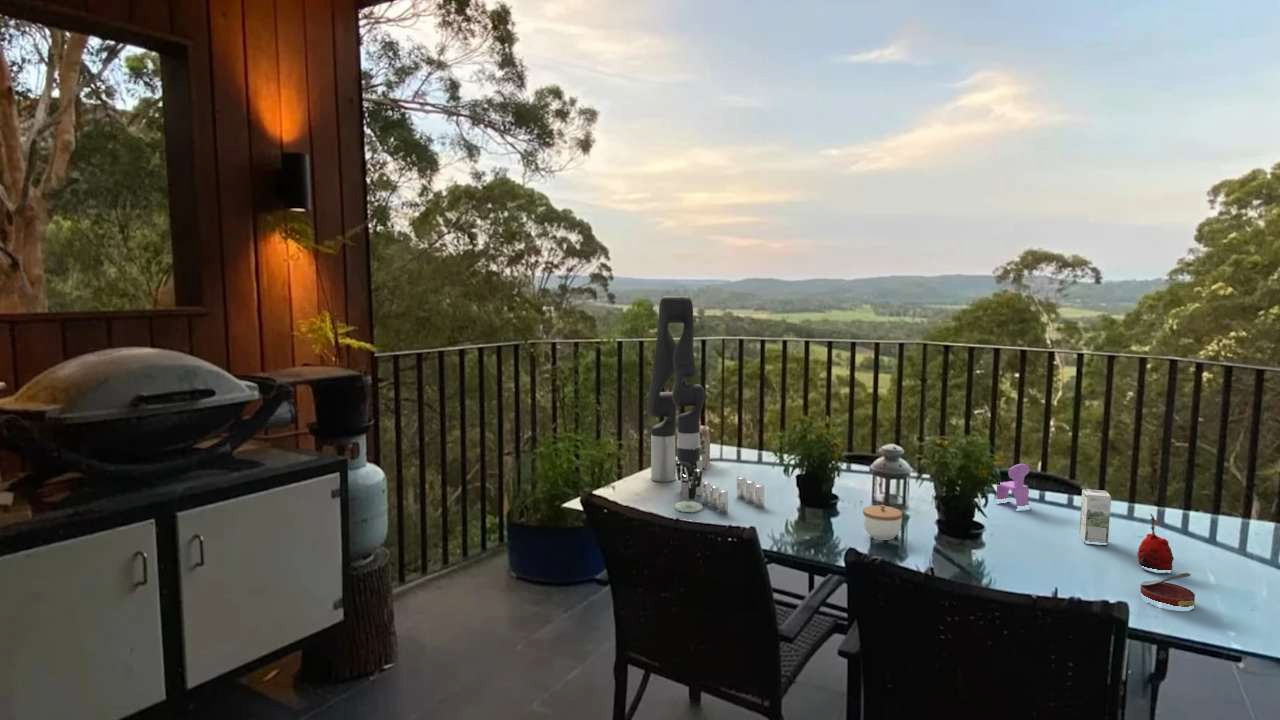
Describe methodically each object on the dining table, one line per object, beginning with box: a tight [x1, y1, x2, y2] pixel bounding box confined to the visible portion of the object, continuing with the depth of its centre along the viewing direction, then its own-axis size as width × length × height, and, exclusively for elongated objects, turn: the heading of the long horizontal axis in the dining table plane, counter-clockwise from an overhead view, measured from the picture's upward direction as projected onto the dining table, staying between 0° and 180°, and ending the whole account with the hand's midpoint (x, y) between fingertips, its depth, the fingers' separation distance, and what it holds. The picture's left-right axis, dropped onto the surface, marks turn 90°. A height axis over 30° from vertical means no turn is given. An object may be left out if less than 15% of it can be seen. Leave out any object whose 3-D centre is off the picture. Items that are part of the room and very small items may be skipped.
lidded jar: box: [862, 504, 904, 541], centre depth 201 cm, size 11×11×9 cm
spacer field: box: [700, 476, 765, 515], centre depth 233 cm, size 14×17×7 cm
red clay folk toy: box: [1137, 513, 1175, 571], centre depth 176 cm, size 8×7×15 cm
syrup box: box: [1078, 488, 1112, 544], centre depth 196 cm, size 6×6×14 cm
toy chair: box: [996, 463, 1030, 507], centre depth 228 cm, size 8×9×15 cm
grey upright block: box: [681, 480, 696, 502], centre depth 229 cm, size 4×5×6 cm
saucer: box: [674, 501, 703, 514], centre depth 230 cm, size 9×9×1 cm
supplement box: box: [680, 455, 703, 496], centre depth 248 cm, size 7×7×13 cm
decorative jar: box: [679, 421, 711, 470], centre depth 286 cm, size 12×12×18 cm
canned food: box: [1140, 572, 1196, 607], centre depth 158 cm, size 11×10×10 cm
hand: (688, 496), depth 229 cm, fingers closed on grey upright block, 4 cm apart
